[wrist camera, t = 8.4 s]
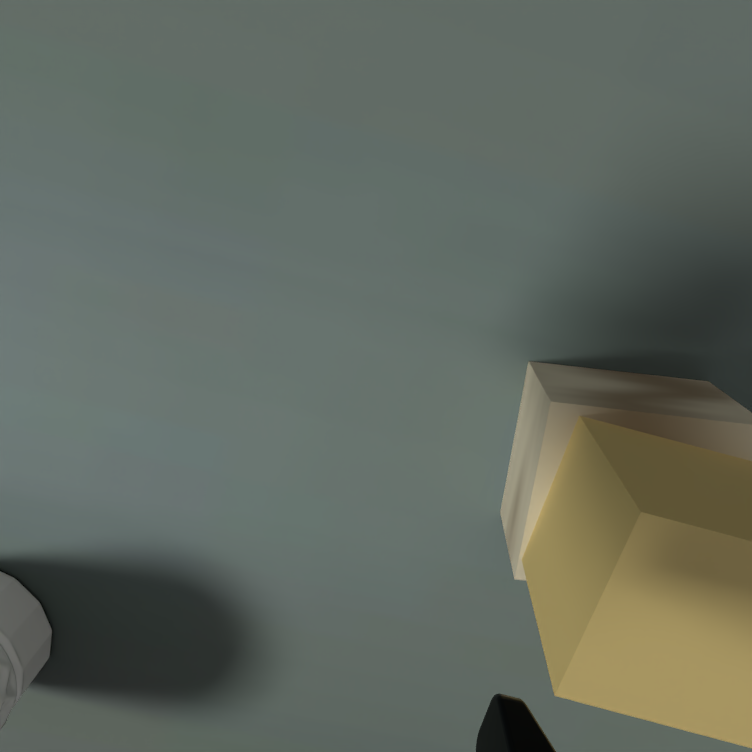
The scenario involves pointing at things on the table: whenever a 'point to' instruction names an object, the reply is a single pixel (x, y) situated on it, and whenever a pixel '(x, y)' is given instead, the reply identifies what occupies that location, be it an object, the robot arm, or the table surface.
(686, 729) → the ochre block
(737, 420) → the birch base block
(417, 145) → the table surface
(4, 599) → the white cup
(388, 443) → the table surface
